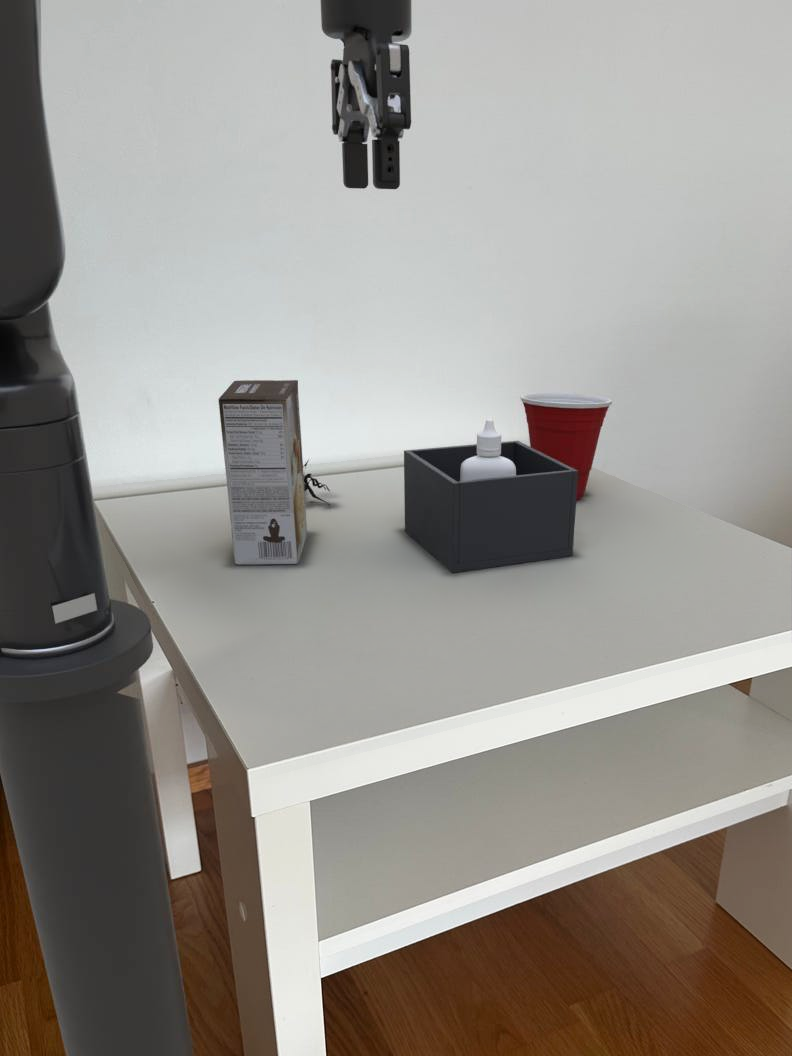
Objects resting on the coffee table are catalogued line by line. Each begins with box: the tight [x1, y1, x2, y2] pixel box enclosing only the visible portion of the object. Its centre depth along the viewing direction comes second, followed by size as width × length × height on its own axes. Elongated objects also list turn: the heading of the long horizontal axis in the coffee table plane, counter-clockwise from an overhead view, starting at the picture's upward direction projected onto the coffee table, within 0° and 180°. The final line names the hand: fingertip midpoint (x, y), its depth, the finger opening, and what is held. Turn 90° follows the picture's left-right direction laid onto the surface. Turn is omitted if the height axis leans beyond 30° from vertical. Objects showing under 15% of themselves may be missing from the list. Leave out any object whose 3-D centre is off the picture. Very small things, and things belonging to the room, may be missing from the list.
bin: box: [403, 440, 578, 574], centre depth 96 cm, size 13×13×9 cm
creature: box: [303, 459, 331, 506], centre depth 108 cm, size 8×5×8 cm
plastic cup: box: [519, 392, 613, 501], centre depth 112 cm, size 11×11×12 cm
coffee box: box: [218, 379, 308, 566], centre depth 91 cm, size 9×6×16 cm
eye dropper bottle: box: [460, 418, 516, 481], centre depth 95 cm, size 4×6×12 cm
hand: (370, 188), depth 84 cm, fingers open, 8 cm apart
